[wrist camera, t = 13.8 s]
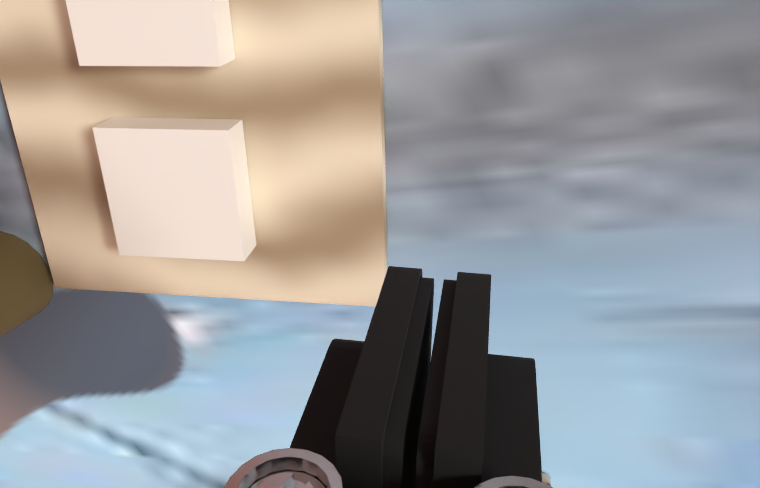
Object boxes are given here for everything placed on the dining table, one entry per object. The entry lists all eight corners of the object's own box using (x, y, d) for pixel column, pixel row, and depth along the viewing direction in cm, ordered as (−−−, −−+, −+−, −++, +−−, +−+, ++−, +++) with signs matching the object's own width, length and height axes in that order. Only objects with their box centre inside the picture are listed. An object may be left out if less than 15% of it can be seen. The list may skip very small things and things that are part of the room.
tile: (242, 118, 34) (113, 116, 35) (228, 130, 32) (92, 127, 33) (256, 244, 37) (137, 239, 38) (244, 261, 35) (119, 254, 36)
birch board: (-50, -179, 31) (-69, -183, 30) (377, -203, 28) (372, -208, 27) (66, 278, 42) (55, 287, 41) (388, 296, 39) (385, 307, 38)
